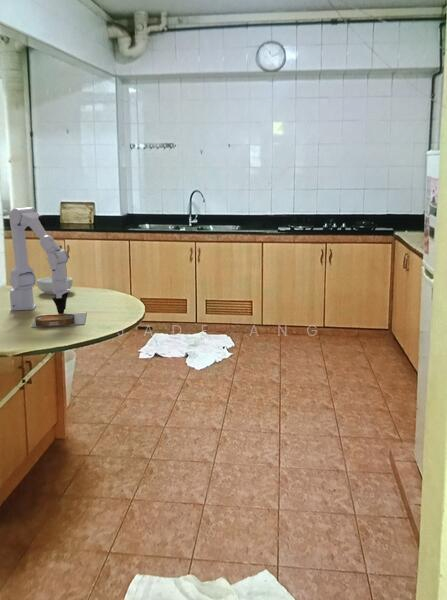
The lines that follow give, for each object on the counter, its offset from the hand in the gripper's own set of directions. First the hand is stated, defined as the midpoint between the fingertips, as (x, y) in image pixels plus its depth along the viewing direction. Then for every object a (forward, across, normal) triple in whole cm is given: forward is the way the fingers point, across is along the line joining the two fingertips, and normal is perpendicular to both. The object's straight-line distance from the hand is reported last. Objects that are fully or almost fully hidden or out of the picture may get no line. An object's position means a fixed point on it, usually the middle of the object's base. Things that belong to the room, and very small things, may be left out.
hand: (61, 311), depth 250 cm
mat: (+1, -10, 0) cm, 10 cm away
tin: (0, -11, +1) cm, 11 cm away
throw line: (+1, +1, 0) cm, 2 cm away
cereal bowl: (+2, +46, +7) cm, 47 cm away
